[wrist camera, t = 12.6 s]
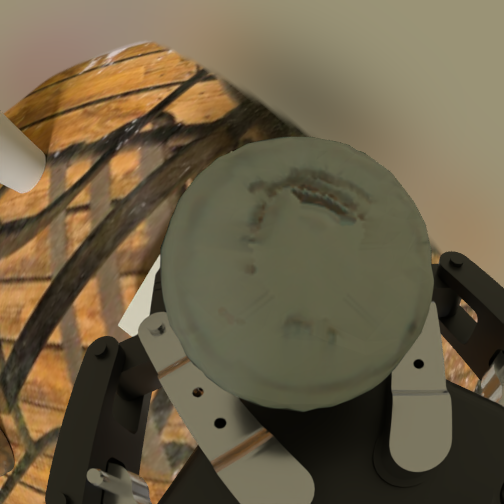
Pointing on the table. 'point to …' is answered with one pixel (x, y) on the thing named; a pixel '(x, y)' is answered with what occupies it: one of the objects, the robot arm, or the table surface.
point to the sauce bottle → (296, 273)
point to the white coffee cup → (18, 158)
